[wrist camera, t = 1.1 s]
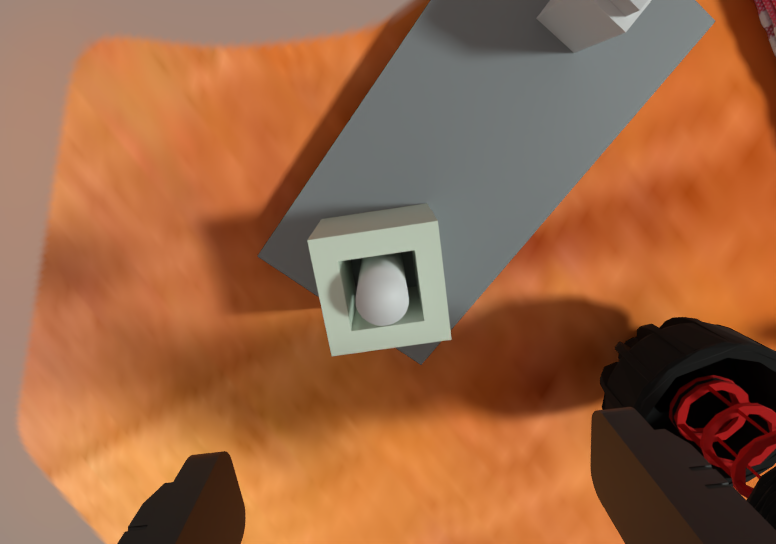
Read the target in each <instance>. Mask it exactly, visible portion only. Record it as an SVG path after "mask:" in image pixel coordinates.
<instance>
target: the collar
mask: <svg viewBox="0 0 776 544" xmlns="http://www.w3.org/2000/svg"><path fill="white" fill-rule="evenodd" d="M307 242H308V246H309V251H310V256H311V261H312V265H313V270H314V275H315V280H316V284H317V289H318V294H319V299H320V303H321V308H322V313H323V318H324V322H325V327H326V332H327V337H328V341H329V346H330V351H331V356H338V355H346V354H353V353H360V352H367V351H374V350H381V349H388V348H396V347H403V346H410V345H417V344H424V343H431V342H438V341H446V340H452V339H451V330H450V322H449V313H448V304H447V296H446V287H445V278H444V269H443V261H442V252H441V243H440V235H439V226H438V220H437V219H436V217H435V215H434V214H433V212H432V210H431V209H430V207H429V206H428V204H427V203H425V204H419V205H412V206H405V207H399V208H392V209H385V210H379V211H372V212H365V213H359V214H352V215H345V216H339V217H332V218H325V219H321V220H320V222H319V223H318V225H317V226H316V228H315V229H314V231H313V232H312V234H311V235H310V237H309V238H308V240H307ZM406 251H412V256H413V263H414V270H415V278H416V285H417V286H415V287H408V288H407V290H408V296H409V305H408V309H407V311H406V313H405V314H404V316H403V317H402V318H401V319H400V320H399V321H397V322H395V323H393V324H390V325H386V326H379V325H374V324H371V323H369V322H367V321H366V320H365V319H363V318H362V317H361V315H360V314H359V312H358V310H357V308H356V302H355V300H356V288H355V282H354V277H353V271H352V266H351V259H358V258H365V257H372V256H379V255H385V254H392V253H399V252H406Z"/></svg>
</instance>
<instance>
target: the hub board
mask: <svg viewBox="0 0 776 544" xmlns="http://www.w3.org/2000/svg"><path fill="white" fill-rule="evenodd" d="M714 22H715V20H714V19H713V18H712V17H711V16H710V15H709V14H708V13H707V12H706V11H705V10H704V9H703V8H702V7H701V6H700V5H699V4H698V3H697V2H696V1H695V0H430V2H429V3H428V5H427V6H426V8H425V9H424V11H423V12H422V14H421V15H420V17H419V18H418V20H417V21H416V23H415V24H414V26H413V27H412V29H411V30H410V32H409V33H408V34H407V36H406V37H405V39H404V40H403V42H402V43H401V45H400V46H399V48H398V49H397V51H396V52H395V54H394V55H393V57H392V58H391V60H390V61H389V63H388V64H387V65H386V67H385V68H384V70H383V71H382V73H381V74H380V76H379V77H378V79H377V80H376V82H375V83H374V85H373V86H372V88H371V89H370V91H369V92H368V94H367V95H366V96H365V98H364V99H363V101H362V102H361V104H360V105H359V107H358V108H357V110H356V111H355V113H354V114H353V116H352V117H351V119H350V120H349V122H348V123H347V125H346V126H345V128H344V129H343V130H342V132H341V133H340V135H339V136H338V138H337V139H336V141H335V142H334V144H333V145H332V147H331V148H330V150H329V151H328V153H327V154H326V156H325V157H324V159H323V160H322V161H321V163H320V164H319V166H318V167H317V169H316V170H315V172H314V173H313V175H312V176H311V178H310V179H309V181H308V182H307V184H306V185H305V187H304V188H303V190H302V191H301V192H300V194H299V195H298V197H297V198H296V200H295V201H294V203H293V204H292V206H291V207H290V209H289V210H288V212H287V213H286V215H285V216H284V218H283V219H282V221H281V222H280V224H279V225H278V226H277V228H276V229H275V231H274V232H273V234H272V235H271V237H270V238H269V240H268V241H267V243H266V244H265V246H264V247H263V249H262V250H261V252H260V253H259V255H258V257H259V258H261V259H262V260H264V261H265V262H267V263H268V264H270V265H271V266H273V267H274V268H276V269H277V270H279V271H280V272H282V273H283V274H285V275H286V276H288V277H289V278H291V279H292V280H294V281H295V282H297V283H298V284H300V285H301V286H303V287H304V288H306V289H307V290H309V291H310V292H312V293H313V294H315V295H316V296H318V297H319V294H318V289H317V284H316V280H315V275H314V270H313V265H312V261H311V256H310V251H309V246H308V242H307V240H308V238H309V237H310V235H311V234H312V232H313V231H314V229H315V228H316V226H317V225H318V223H319V222H320V220H321V219H325V218H332V217H339V216H345V215H352V214H359V213H365V212H372V211H379V210H385V209H392V208H399V207H405V206H412V205H419V204H425V203H427V204H428V206H429V207H430V209H431V210H432V212H433V214H434V215H435V217H436V219H437V220H438V226H439V235H440V243H441V252H442V261H443V269H444V278H445V287H446V296H447V304H448V313H449V322H450V330H452V328H453V327H454V326H455V325H456V324H457V323H458V321H459V320H460V319H461V318H462V317H463V316H464V314H465V313H466V312H467V311H468V310H469V308H470V307H471V306H472V305H473V304H474V303H475V301H476V300H477V299H478V298H479V297H480V296H481V294H482V293H483V292H484V291H485V290H486V289H487V287H488V286H489V285H490V284H491V283H492V282H493V280H494V279H495V278H496V277H497V276H498V275H499V273H500V272H501V271H502V270H503V269H504V268H505V266H506V265H507V264H508V263H509V262H510V261H511V259H512V258H513V257H514V256H515V255H516V254H517V252H518V251H519V250H520V249H521V248H522V247H523V245H524V244H525V243H526V242H527V241H528V240H529V238H530V237H531V236H532V235H533V234H534V233H535V231H536V230H537V229H538V228H539V227H540V226H541V224H542V223H543V222H544V221H545V220H546V219H547V217H548V216H549V215H550V214H551V213H552V212H553V210H554V209H555V208H556V207H557V206H558V205H559V203H560V202H561V201H562V200H563V199H564V198H565V196H566V195H567V194H568V193H569V192H570V191H571V189H572V188H573V187H574V186H575V185H576V184H577V182H578V181H579V180H580V179H581V178H582V177H583V175H584V174H585V173H586V172H587V171H588V170H589V168H590V167H591V166H592V165H593V164H594V163H595V161H596V160H597V159H598V158H599V157H600V155H601V154H602V153H603V152H604V151H605V150H606V148H607V147H608V146H609V145H610V144H611V143H612V141H613V140H614V139H615V138H616V137H617V136H618V134H619V133H620V132H621V131H622V130H623V129H624V127H625V126H626V125H627V124H628V123H629V122H630V120H631V119H632V118H633V117H634V116H635V115H636V113H637V112H638V111H639V110H640V109H641V108H642V106H643V105H644V104H645V103H646V102H647V101H648V99H649V98H650V97H651V96H652V95H653V94H654V92H655V91H656V90H657V89H658V88H659V87H660V85H661V84H662V83H663V82H664V81H665V80H666V78H667V77H668V76H669V75H670V74H671V73H672V71H673V70H674V69H675V68H676V67H677V66H678V64H679V63H680V62H681V61H682V60H683V59H684V57H685V56H686V55H687V54H688V53H689V52H690V50H691V49H692V48H693V47H694V46H695V45H696V43H697V42H698V41H699V40H700V39H701V38H702V36H703V35H704V34H705V33H706V32H707V31H708V29H709V28H710V27H711V26H712V25H713V24H714ZM351 266H352V271H353V277H354V282H355V288H356V300H355V302H356V308H357V310H358V312H359V314H360V315H361V317H362V318H363V319H365V320H366V321H367V322H369V323H371V324H374V325H379V326H386V325H390V324H393V323H395V322H397V321H399V320H400V319H401V318H402V317H403V316H404V314H405V313H406V311H407V309H408V305H409V296H408V290H407V288H408V287H415V286H417V285H416V278H415V270H414V263H413V256H412V251H406V252H399V253H392V254H385V255H379V256H372V257H365V258H358V259H351ZM440 342H441V341H438V342H431V343H424V344H417V345H410V346H403V347H396V349H398V350H399V351H401V352H402V353H404V354H405V355H407V356H408V357H410V358H411V359H413V360H414V361H416V362H417V363H419V364H420V365H422V363H423V362H424V361H425V360H426V359H427V358H428V356H429V355H430V354H431V353H432V352H433V351H434V349H435V348H436V347H437V346H438V345H439V344H440Z"/></svg>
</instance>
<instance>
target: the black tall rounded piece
mask: <svg viewBox="0 0 776 544" xmlns="http://www.w3.org/2000/svg"><path fill="white" fill-rule="evenodd" d="M615 350H616V351H617V352H618V353H619V357H618V358H619V362H615V363H613V364H610V365H608V366H605V367H604V369H603V371H602V374H601V377H600V385H601V387H602V388H603V390H604V392H605V395H604V399H603V404H602V409H603V410H606V409H615V408H624V407H632V408H634V409H635V410H636V411H638V413H639V414H640V415H641V416H642V417H643V418H644V419H645V420H646V421H647V422H648V424H649V425H650V426H651V427H652V428H653V429H654V430H658V429H666V430H667V431H669V432H671V433H673V434H674V435H676V436H678V437H679V438H681V439H683V440H684V441H686V442H688V443H689V444H691V445H692V446H693V447H694V448H695V449H696V450H697V451H698V452H699V453H700V454H701V455H702V456H703V457H704V458H705V459H706V460H707V461H708V462H709V463H710V464H711V466H712V469H716V470H717V471H718V472H719V473H720V474H721V475H722V476H723V477H724V478H725V479H726V480H727V481H728V483H729V486H730V487H734V488H735V489H736V490H737V491H738V492H739V493H740V494H741V495H743V496H745V497H746V498H748V499H747V502H748V503H749V504H750V505H751V506H752V507H753V508H754V509H755V510H756V511H757V512H758V513H759V514H760V515H761V516H762V517H763V518H764V519H765V520H766V521H767V522H768V523H769V524H770V525H771V526H772V527H773V528H774V529H775V530H776V467H774V468H773V469H771V470H770V471H768V472H767V473H765V474H764V475H762V476H760V475H759V474H761V473H762V472H764V471H766V470H767V469H769V468H770V467H772V466H773V465H774V464H775V463H776V351H774V350H772V349H770V348H768V347H766V346H764V345H762V344H760V343H758V342H756V341H754V340H752V339H750V338H748V337H746V336H744V335H742V334H740V333H738V332H737V331H735V330H733V329H731V328H728V327H725V326H721V325H714V324H710V323H705V322H701V321H700V320H698V319H695V318H687V317H678V318H671V319H669V320H667V321H665V322H664V323H663V325H662V326H661V327H660V328H658V327H657V326H655V325H653V324H648V325H644V326H641V327H639V328H638V329H637V337H635V338H631V339H629V340H627V341H626V342H625V343H622V342H619V343H618V344H617V345H616V346H615ZM756 476H757V477H758V478H759V481H758V482H757V484H756V486H755V487H754V488H752V487H750V486H747V485H746V482H748V481H750V480H751V479H753V478H754V477H756Z"/></svg>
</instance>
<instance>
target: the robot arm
mask: <svg viewBox="0 0 776 544" xmlns="http://www.w3.org/2000/svg"><path fill="white" fill-rule="evenodd" d="M591 476H592V481H593V484H594V488H595V491H596V493H597V496H598V498H599V500H600V502H601V503H602V505H603V507H604V508H605V510H606V512H607V513H608V515H609V517H610V519H611V520H612V522H613V524H614V525H615V527H616V529H617V530H618V532H619V534H620V535H621V537H622V539H623V541H624V542H625V544H776V530H775V529H774V528H773V527H772V526H771V525H770V524H769V523H768V522H767V521H766V520H765V519H764V518H763V517H762V516H761V515H760V514H759V513H758V512H757V511H756V510H755V509H754V508H753V507H752V506H751V505H750V504H749V503H748V502H747V501H746V500H745V499H744V498H743V497H742V496H741V494H740V493H739V492H738V491H737V490H736V489H735V488H734V487H730V486H729V483H728V481H727V480H726V479H725V478H724V477H723V476H722V475H721V474H720V473H719V472H718V471H717V470H716V469H712V466H711V464H710V463H709V462H708V461H707V460H706V459H705V458H704V457H703V456H702V455H701V454H700V453H699V452H698V451H697V450H696V449H695V448H694V447H693V446H692V445H691V444H689V443H688V442H686V441H684V440H683V439H681V438H679V437H678V436H676V435H674V434H673V433H671V432H669V431H667V430H666V429H658V430H654V429H653V428H652V427H651V426H650V425H649V424H648V422H647V421H646V420H645V419H644V418H643V417H642V416H641V415H640V414H639V413H638V411H636V410H635V409H634V408H632V407H624V408H615V409H606V410H598V411H594V413H593V415H592V426H591ZM244 529H245V506H244V502H243V498H242V495H241V491H240V488H239V484H238V481H237V477H236V474H235V470H234V467H233V463H232V460H231V457H230V455H229V454H228V453H227V452H225V451H224V452H215V453H206V454H197V455H191V456H190V457H189V458H188V459H187V460H186V461H185V463H184V465H183V467H182V468H181V470H180V472H179V473H178V475H177V477H176V478H175V480H174V482H171V483H165V484H163V485H162V486H161V487H160V488H159V489H158V490H157V491H156V492H155V493H154V494H153V495H152V496H151V497H150V498H148V499H147V500H146V501H145V502H144V503H143V504H142V506H141V507H140V509H139V511H138V512H137V514H136V515H135V517H134V518H133V520H132V522H131V523H130V525H129V526H128V531H127V532H125V533H124V534H123V536H122V537H121V539H120V540H119V542H118V544H241V541H242V538H243V534H244Z"/></svg>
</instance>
